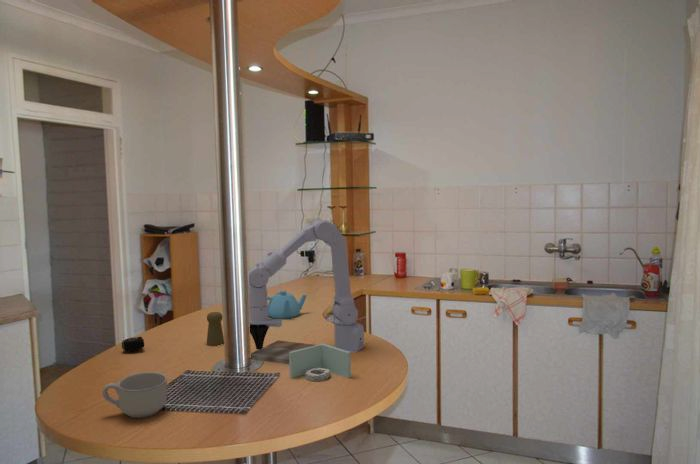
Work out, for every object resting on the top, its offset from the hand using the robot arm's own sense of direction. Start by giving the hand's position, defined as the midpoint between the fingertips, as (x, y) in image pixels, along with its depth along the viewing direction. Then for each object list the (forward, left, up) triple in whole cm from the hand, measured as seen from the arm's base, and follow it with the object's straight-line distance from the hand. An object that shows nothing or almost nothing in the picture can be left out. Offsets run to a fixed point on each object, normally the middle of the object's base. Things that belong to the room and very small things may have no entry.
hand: (259, 348), depth 162 cm
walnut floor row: (-7, -11, -3) cm, 13 cm away
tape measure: (+40, +9, -3) cm, 41 cm away
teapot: (+24, -53, -3) cm, 58 cm away
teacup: (+2, +47, -3) cm, 47 cm away
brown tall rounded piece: (+23, -7, -3) cm, 24 cm away
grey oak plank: (-7, -7, -1) cm, 10 cm away
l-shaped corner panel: (-27, +10, -3) cm, 29 cm away
